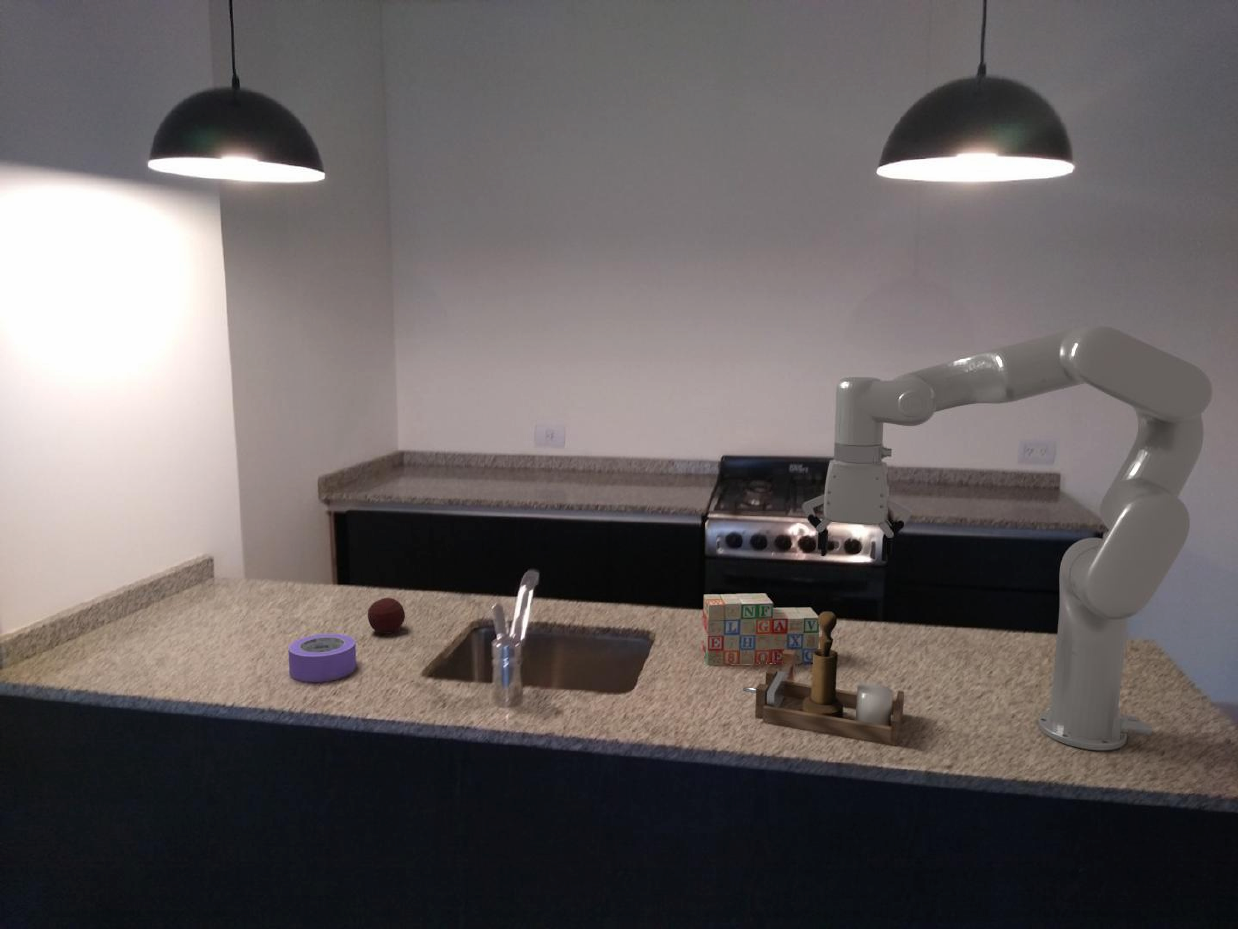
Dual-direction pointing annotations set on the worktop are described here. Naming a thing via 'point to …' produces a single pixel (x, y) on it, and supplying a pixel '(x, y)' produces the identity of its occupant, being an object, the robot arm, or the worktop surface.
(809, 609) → the stack of blocks
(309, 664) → the tape roll
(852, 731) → the lane
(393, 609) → the dark red ball
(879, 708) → the white marshmallow
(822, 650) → the mortar and pestle
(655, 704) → the worktop surface
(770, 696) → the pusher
